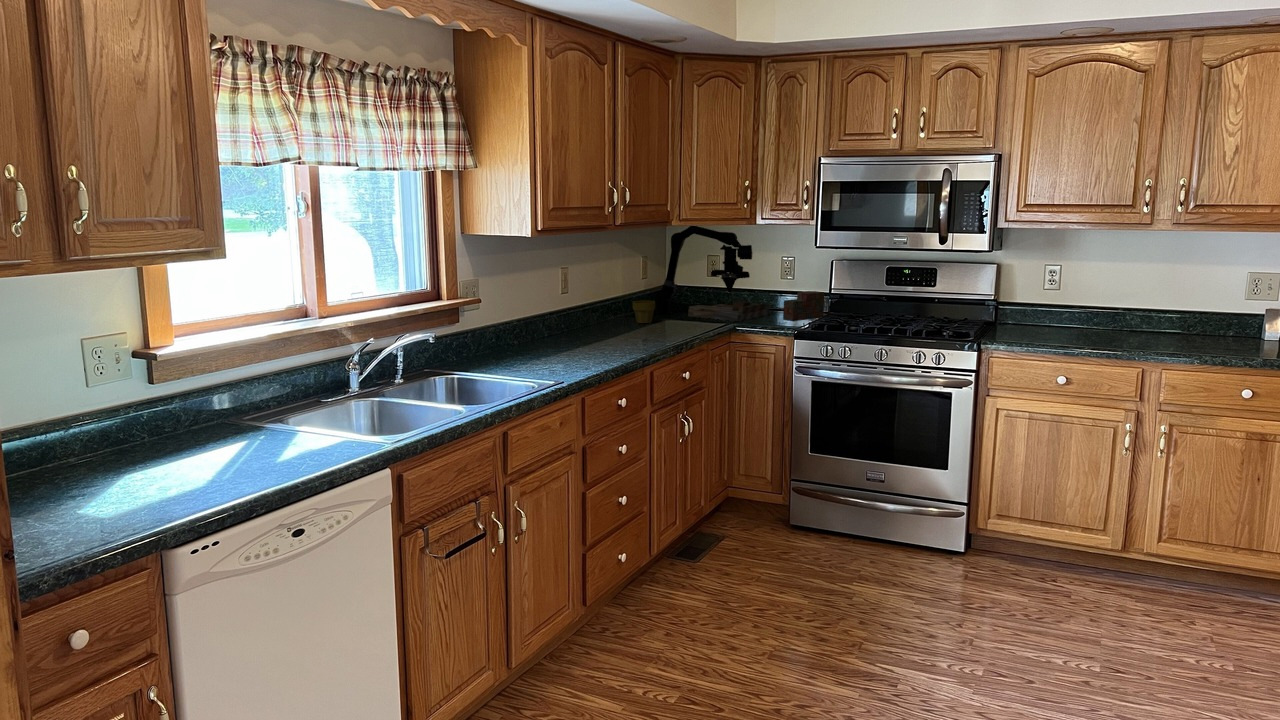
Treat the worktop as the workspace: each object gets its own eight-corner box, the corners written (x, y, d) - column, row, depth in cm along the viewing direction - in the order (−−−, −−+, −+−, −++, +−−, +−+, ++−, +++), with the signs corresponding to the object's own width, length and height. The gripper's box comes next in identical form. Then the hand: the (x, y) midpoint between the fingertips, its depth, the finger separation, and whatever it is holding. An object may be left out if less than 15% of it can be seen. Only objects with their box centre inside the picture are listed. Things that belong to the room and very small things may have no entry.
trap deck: (737, 321, 420) (737, 308, 418) (676, 314, 441) (676, 302, 440) (769, 315, 441) (769, 302, 440) (709, 308, 463) (710, 297, 462)
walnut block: (743, 311, 430) (743, 303, 429) (732, 310, 433) (732, 302, 433) (750, 310, 434) (750, 302, 434) (739, 309, 438) (739, 301, 437)
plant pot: (629, 322, 419) (629, 300, 417) (650, 320, 423) (650, 299, 421) (637, 325, 410) (637, 303, 408) (658, 324, 413) (658, 302, 411)
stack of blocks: (792, 321, 421) (793, 295, 419) (782, 320, 426) (783, 293, 423) (823, 317, 434) (824, 291, 431) (813, 316, 439) (814, 290, 436)
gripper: (756, 259, 434) (755, 291, 437) (723, 257, 446) (723, 289, 449) (743, 260, 426) (742, 294, 429) (710, 258, 437) (710, 291, 440)
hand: (729, 292), depth 437 cm, fingers closed
